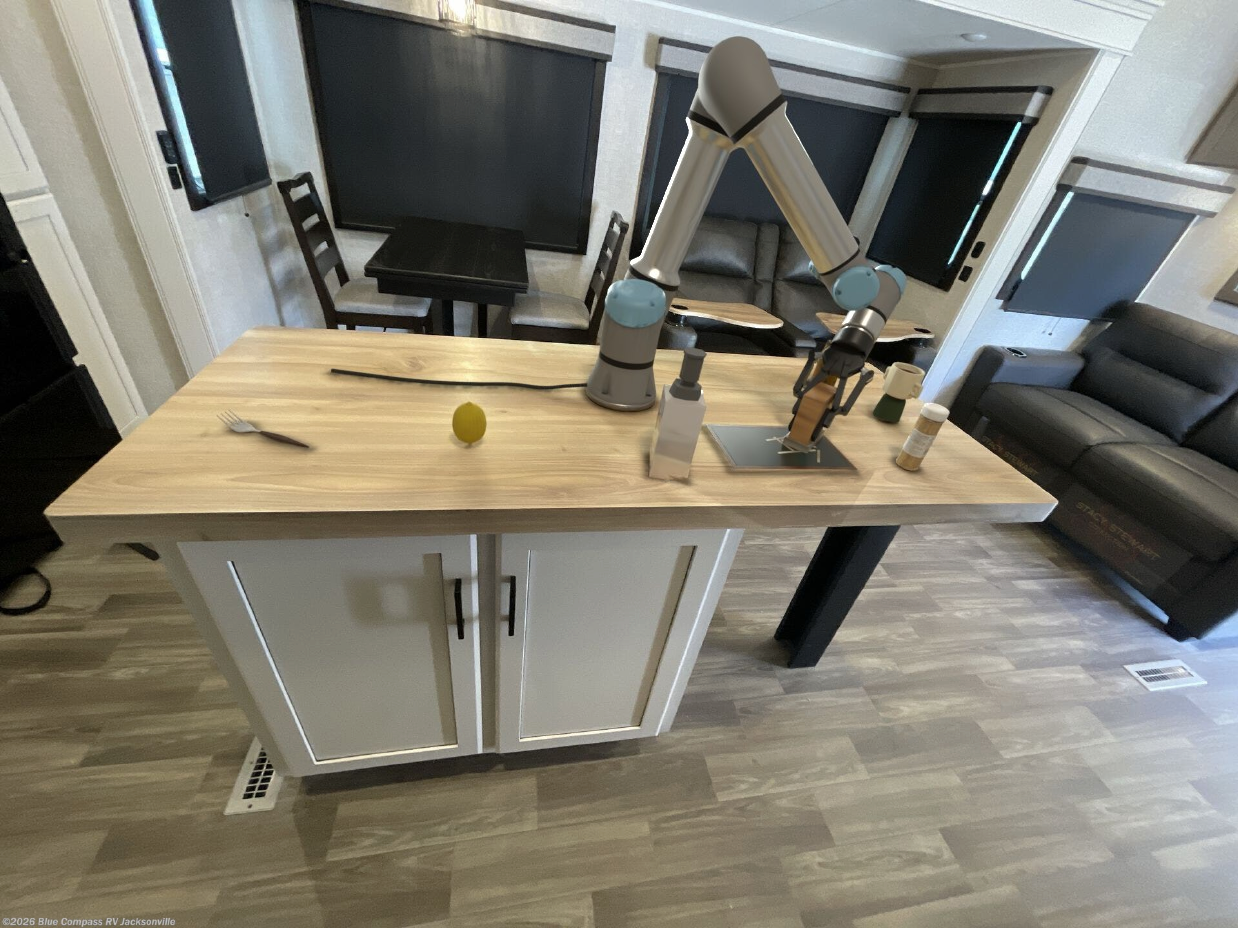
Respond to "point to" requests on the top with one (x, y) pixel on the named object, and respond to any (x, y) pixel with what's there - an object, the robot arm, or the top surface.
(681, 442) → the soap dispenser
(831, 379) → the condiment
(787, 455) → the chalkboard
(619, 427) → the top surface
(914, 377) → the cream and green goblet
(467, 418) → the lemon
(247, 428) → the fork
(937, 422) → the sprinkles bottle
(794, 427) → the eraser
